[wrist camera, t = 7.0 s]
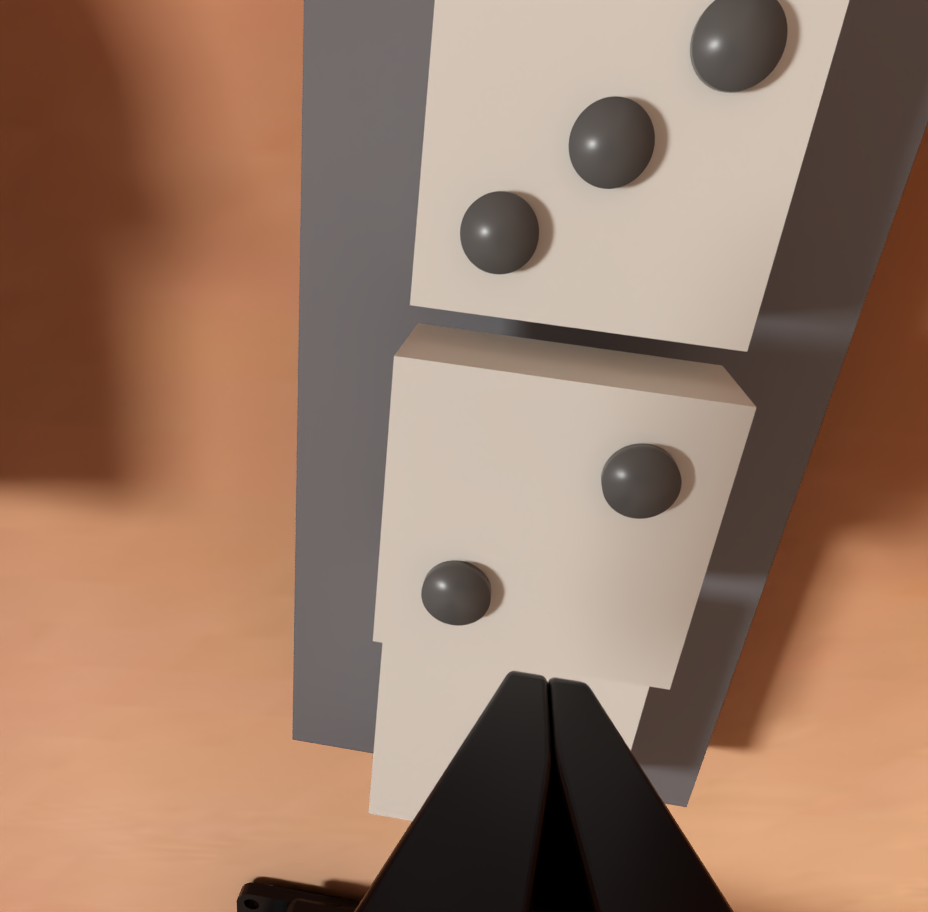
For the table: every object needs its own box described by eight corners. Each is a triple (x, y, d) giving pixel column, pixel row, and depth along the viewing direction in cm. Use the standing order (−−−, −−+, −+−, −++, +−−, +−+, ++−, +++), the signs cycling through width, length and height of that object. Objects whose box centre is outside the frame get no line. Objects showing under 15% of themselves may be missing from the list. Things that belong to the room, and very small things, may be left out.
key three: (716, 321, 12) (751, 355, 10) (429, 281, 12) (407, 308, 10) (809, -26, 10) (875, -69, 8) (461, -64, 10) (441, -116, 8)
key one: (594, 776, 17) (601, 863, 15) (387, 741, 17) (366, 821, 15) (640, 604, 14) (655, 677, 12) (403, 567, 15) (381, 633, 13)
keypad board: (673, 744, 19) (686, 807, 17) (316, 684, 20) (292, 739, 18) (928, -46, 12) (1000, -82, 10) (342, -109, 12) (306, -155, 10)
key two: (652, 615, 13) (671, 698, 11) (395, 575, 14) (370, 648, 12) (722, 365, 11) (760, 412, 9) (418, 322, 12) (391, 360, 10)
